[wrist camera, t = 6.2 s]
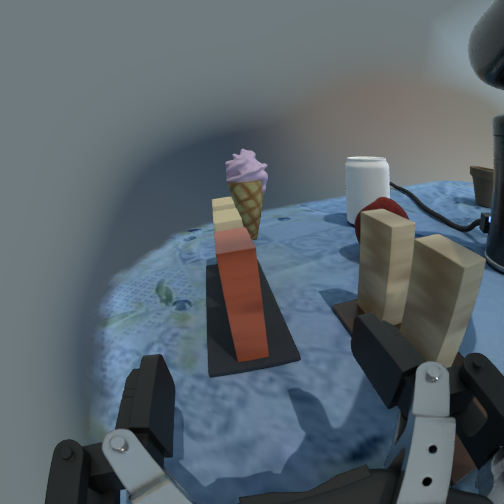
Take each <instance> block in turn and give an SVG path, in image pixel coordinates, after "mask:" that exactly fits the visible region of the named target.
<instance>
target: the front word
mask: <svg viewBox="0 0 504 504" xmlns="http://www.w3.org/2000/svg"><path fill="white" fill-rule="evenodd" d="M415 225H416V223H415V222H412V221H410V220H408V219H406V218H403V217H401V216H399V215H397V214H394V213H392V212H390V211H387V210H385V209H377V210H369V211H362V212H361V236H360V265H359V282H358V296H357V299H356V300H352V301H348V302H344V303H340V304H336V305H332V309H333V311H334V312H335V313H336V315H337V316H338V317H339V319H340V320H341V321H342V323H343V324H344V326H345V327H346V328H347V330H348V331H349V333H350V334H351V335H352V331H353V322H354V318H355V317H357V316H360V315H364V314H367V313H370V312H372V313H374V314H375V316H376V317H377V318H378V319H379V320H380V321H383V320H385V321H387V322H389V323H390V324H392V325H394V326H395V327H396V328H397V329H398V330H399V331H400V332H401V335H402V334H403V335H404V337H405V338H406V340H408V341H409V342H410V343H411V344H412V345H413V346H414V347H415V349H416V350H417V351H418V352H419V353H420V354H421V355H422V356H423V357H424V359H425V360H426V361H427V362H429V361H434V362H438V363H441V364H442V365H444V366H445V367H446V368H447V367H452V366H457V365H462V363H463V361H464V359H465V358H464V357H463V356H462V355H461V354H460V353H459V352H458V349H459V347H460V345H461V342H462V340H463V337H464V334H465V332H466V329H467V326H468V323H469V320H470V318H471V315H472V311H473V308H474V305H475V302H476V298H477V295H478V291H479V288H480V284H481V280H482V276H483V272H484V268H485V263H486V259H485V258H484V257H482V256H480V255H478V254H476V253H475V252H473V251H471V250H469V249H467V248H465V247H463V246H461V245H460V244H458V243H456V242H454V241H452V240H450V239H448V238H446V237H444V236H442V235H440V234H435V235H431V236H426V237H421V238H416V239H414V238H415ZM473 401H474V402H475V403H476V405H477V406H478V407H479V409H480V410H481V412H482V413H483V414H484V416H485V417H486V419H487V413H486V411H485V409H484V408H483V407H482V405H481V404H480V403H479V401H478V400H477V399H476V397H475V398H474V399H473ZM475 468H476V466H475V464H474V462H473V460H472V459H471V457H470V455H469V454H468V452H467V450H466V449H465V447H464V445H463V444H462V442H461V440H460V439H459V437H458V435H457V434H456V432H455V444H454V455H453V464H452V471H451V478H450V484H451V486H453V485H455V484H456V483H457V482H459V481H460V480H461V479H463V478H464V477H465V476H467V475H468V474H469V473H470V472H471V471H473V470H474V469H475Z"/></svg>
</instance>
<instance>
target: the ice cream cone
mask: <svg viewBox="0 0 504 504" xmlns="http://www.w3.org/2000/svg"><path fill="white" fill-rule="evenodd" d="M233 157H234V160H232V161H228V162H226V163H225V165H226V168H227V170H226V174H227V183H228V186H229V188H230V192H231V195H232V198H233V201H234V203H235V206H236V208H237V210H238V212H239V214H240V216H241V219H242V223H243V225H244V227H246V229H247V231H248V233H249V235H250V237H251V239H252V240H253V239H257V236H258V230H259V224H260V218H261V211H262V203H263V194H264V192H265V191H266V183H267V180H268V175H267V173H266V172H265V171H264V169H265V167H267V165H266V164H265V163H264V164H261V163H260V162H258V161H257V160H256V159H255V153H254V152H253V151H247V150H244V149H241V154H240V155H236V154H233Z"/></svg>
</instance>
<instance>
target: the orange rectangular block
mask: <svg viewBox="0 0 504 504" xmlns="http://www.w3.org/2000/svg"><path fill="white" fill-rule="evenodd" d="M214 236H215V249H216V258H217V263H218V268H219V273H220V279H221V284H222V289H223V294H224V299H225V304H226V309H227V314H228V319H229V323H230V328H231V333H232V337H233V342H234V347H235V351H236V356H237V360H238V362H243V361H249V360H254V359H259V358H264V357H268V356H269V353H268V345H267V337H266V328H265V320H264V312H263V304H262V296H261V288H260V279H259V271H258V263H257V255H256V248H255V246H254V243H253V241H252V239H251V237H250V235H249V233H248V231H247V229H246V227H243V228H236V229H230V230H224V231H219V232H214Z"/></svg>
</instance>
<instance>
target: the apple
mask: <svg viewBox="0 0 504 504" xmlns="http://www.w3.org/2000/svg"><path fill="white" fill-rule="evenodd" d="M377 209H385V210H387V211H390V212H392V213H394V214H397V215H399V216H401V217H403V218H406V219H408V220H409V218H408V216H407V214H406V212H405V211H404V210H403V209H402V207H401V206H400V205H398V204H397V203H396V202H395V201H393V200H392V199H390V198H387V197H379V198H377V199H376V200H375V201H374V202H372V203H371V204H369V205H367V206H366V207H365V208H363V209H362V210H361V211H360V212H359V213H358V214H357V216H356V219H355V232H356V236H357V239H358V242H359V244H360V236H361V212H362V211H369V210H377Z"/></svg>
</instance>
